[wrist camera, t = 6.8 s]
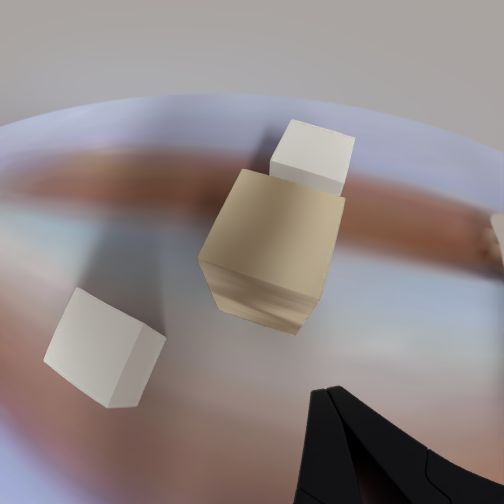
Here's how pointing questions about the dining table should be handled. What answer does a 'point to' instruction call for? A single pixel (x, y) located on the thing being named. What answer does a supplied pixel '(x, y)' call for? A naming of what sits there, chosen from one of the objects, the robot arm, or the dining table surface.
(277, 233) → the maple block
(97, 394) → the white block
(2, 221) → the dining table surface
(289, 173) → the white block
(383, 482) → the robot arm
